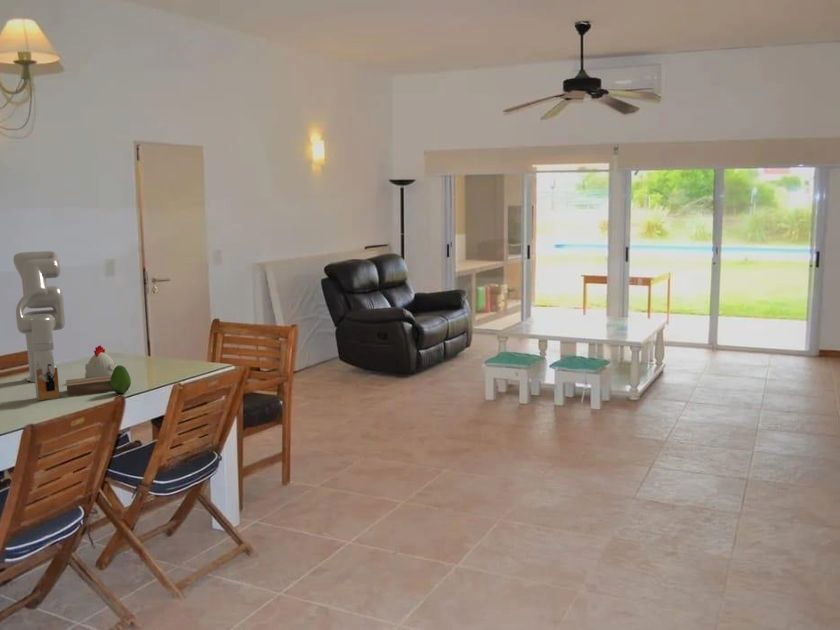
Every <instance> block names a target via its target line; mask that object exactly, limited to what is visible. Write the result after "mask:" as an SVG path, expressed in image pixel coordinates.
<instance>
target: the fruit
mask: <svg viewBox="0 0 840 630" xmlns="http://www.w3.org/2000/svg"><path fill="white" fill-rule="evenodd" d="M131 383H132V379H131V376H130V373H129V372H128V370H127V368H126V367H125V366H123V365H116V367H115V369H114V371H113V373H112V376H111V379H110V385H111V388H112V390H113V391H112V392H115V393H116V394H118V393H122V394H125V393H126V392H128V390H129V389H130V387H131V385H132V384H131Z"/></svg>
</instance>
